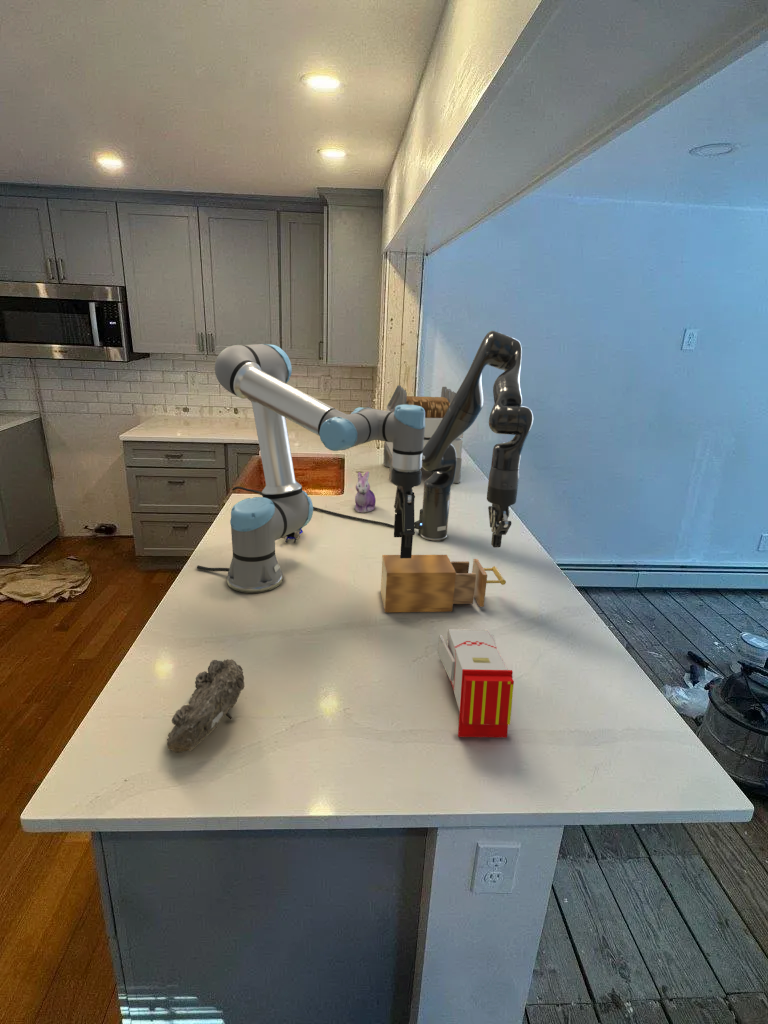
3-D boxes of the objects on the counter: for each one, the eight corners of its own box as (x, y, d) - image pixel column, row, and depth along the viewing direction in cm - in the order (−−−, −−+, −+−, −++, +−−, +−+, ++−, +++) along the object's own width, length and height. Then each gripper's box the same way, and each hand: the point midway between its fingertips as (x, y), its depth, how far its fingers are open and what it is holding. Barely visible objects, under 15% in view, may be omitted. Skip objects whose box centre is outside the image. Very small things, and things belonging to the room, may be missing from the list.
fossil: (192, 660, 117) (244, 628, 112) (224, 691, 120) (276, 661, 115) (142, 746, 98) (202, 712, 93) (182, 779, 101) (242, 748, 96)
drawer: (493, 589, 161) (497, 558, 158) (503, 606, 152) (508, 574, 149) (416, 589, 159) (418, 559, 155) (422, 607, 149) (424, 575, 146)
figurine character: (300, 549, 187) (305, 527, 200) (299, 528, 183) (305, 508, 197) (279, 548, 187) (286, 527, 200) (279, 528, 183) (285, 507, 197)
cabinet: (443, 591, 160) (447, 554, 156) (452, 611, 150) (456, 572, 146) (380, 592, 158) (382, 554, 154) (384, 612, 148) (386, 572, 144)
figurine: (359, 514, 216) (360, 476, 211) (348, 506, 225) (349, 469, 220) (381, 511, 220) (382, 474, 215) (369, 503, 229) (371, 467, 224)
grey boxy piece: (382, 463, 289) (386, 382, 275) (445, 464, 293) (451, 384, 279) (390, 482, 257) (394, 392, 243) (460, 483, 261) (468, 394, 247)
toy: (488, 613, 130) (523, 677, 101) (484, 667, 133) (517, 744, 104) (435, 612, 130) (455, 676, 101) (432, 666, 133) (451, 743, 103)
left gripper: (430, 483, 130) (424, 567, 137) (414, 456, 153) (409, 529, 160) (398, 483, 129) (393, 567, 136) (386, 455, 152) (383, 529, 159)
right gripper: (526, 492, 139) (517, 556, 145) (509, 477, 152) (502, 536, 157) (496, 492, 138) (488, 556, 144) (482, 476, 151) (475, 536, 157)
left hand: (402, 546), depth 148 cm, fingers open, 13 cm apart
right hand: (495, 546), depth 151 cm, fingers closed
